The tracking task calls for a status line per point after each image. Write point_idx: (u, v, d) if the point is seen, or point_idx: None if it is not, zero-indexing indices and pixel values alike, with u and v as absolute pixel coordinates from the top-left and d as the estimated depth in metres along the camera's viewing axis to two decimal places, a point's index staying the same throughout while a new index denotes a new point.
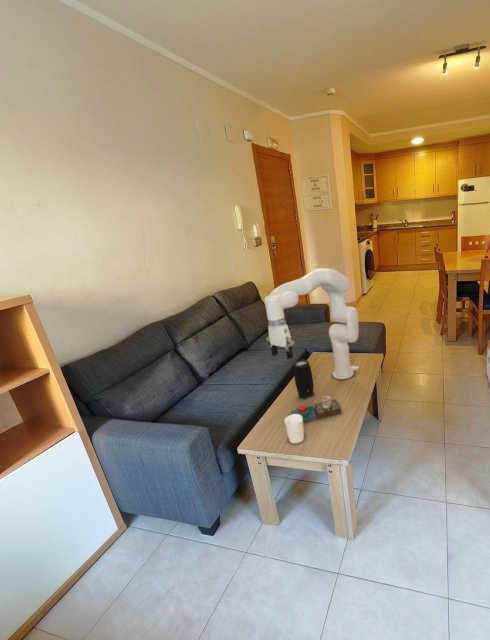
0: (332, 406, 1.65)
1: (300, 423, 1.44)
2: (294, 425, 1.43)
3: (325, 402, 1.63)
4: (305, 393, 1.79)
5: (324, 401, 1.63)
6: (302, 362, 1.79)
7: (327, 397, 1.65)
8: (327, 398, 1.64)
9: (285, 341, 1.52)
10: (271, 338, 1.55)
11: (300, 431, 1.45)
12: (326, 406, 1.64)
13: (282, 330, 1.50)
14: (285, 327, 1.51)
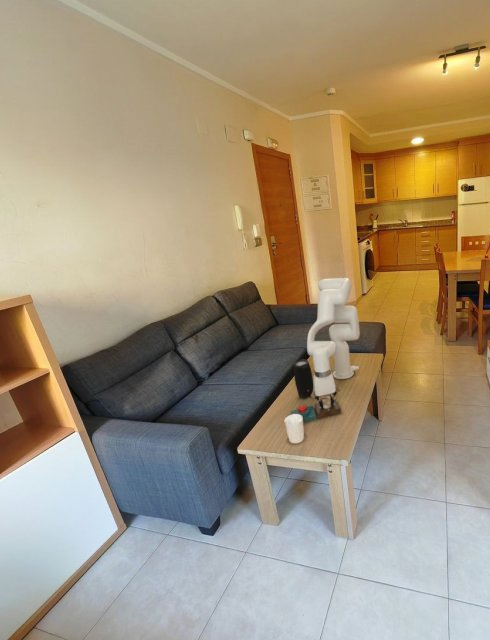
0: (332, 406, 1.65)
1: (300, 423, 1.44)
2: (294, 425, 1.43)
3: (325, 402, 1.63)
4: (305, 393, 1.79)
5: (324, 401, 1.63)
6: (302, 362, 1.79)
7: (327, 397, 1.65)
8: (327, 398, 1.64)
9: None
10: (319, 390, 1.60)
11: (300, 431, 1.45)
12: (326, 406, 1.64)
13: None
14: (332, 374, 1.62)
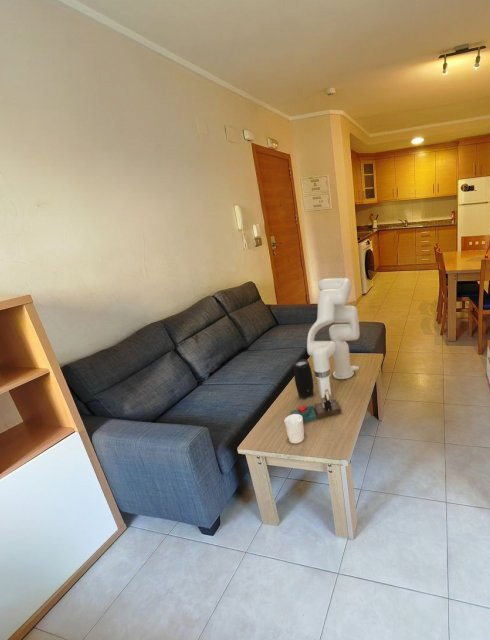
0: (332, 406, 1.65)
1: (300, 423, 1.44)
2: (294, 425, 1.43)
3: (330, 399, 1.65)
4: (305, 393, 1.79)
5: (330, 399, 1.64)
6: (302, 362, 1.79)
7: None
8: None
9: None
10: None
11: (300, 431, 1.45)
12: None
13: None
14: None
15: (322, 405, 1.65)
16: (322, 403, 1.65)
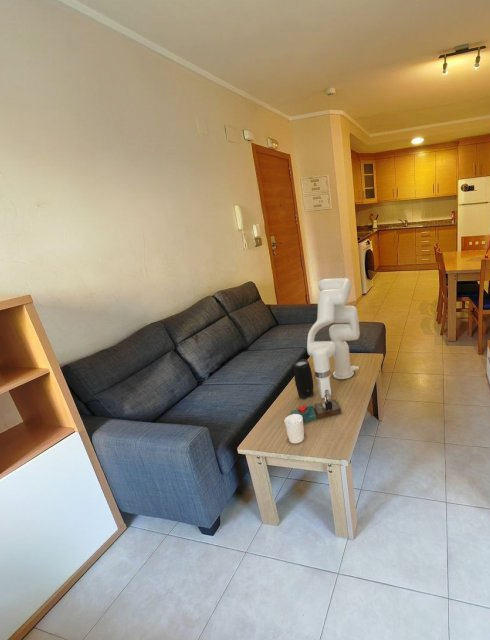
0: (332, 406, 1.65)
1: (300, 423, 1.44)
2: (294, 425, 1.43)
3: None
4: (305, 393, 1.79)
5: None
6: (302, 362, 1.79)
7: None
8: None
9: None
10: None
11: (300, 431, 1.45)
12: None
13: None
14: None
15: (322, 405, 1.65)
16: (322, 403, 1.65)
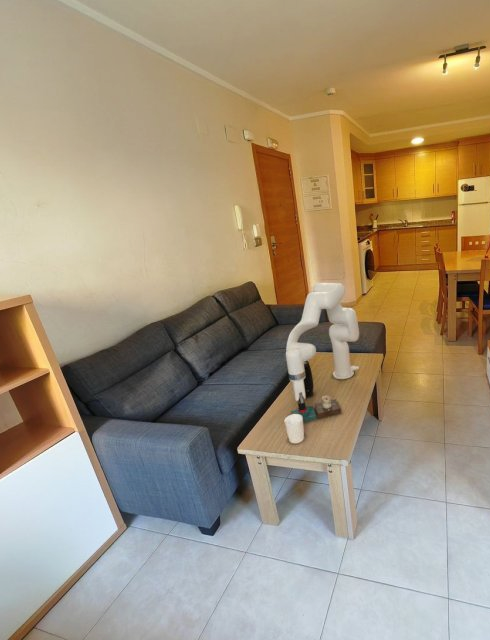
0: (332, 406, 1.65)
1: (300, 423, 1.44)
2: (294, 425, 1.43)
3: (330, 399, 1.65)
4: (305, 393, 1.79)
5: (330, 399, 1.64)
6: None
7: (325, 397, 1.66)
8: (327, 397, 1.66)
9: None
10: None
11: (300, 431, 1.45)
12: None
13: None
14: None
15: (322, 405, 1.65)
16: (322, 403, 1.65)
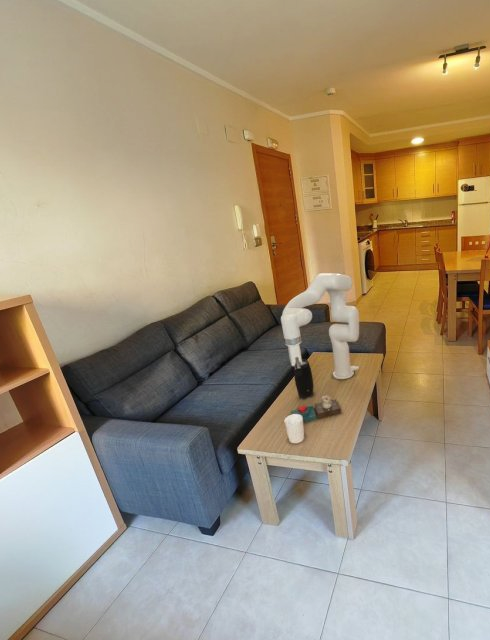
0: (332, 406, 1.65)
1: (300, 423, 1.44)
2: (294, 425, 1.43)
3: (330, 399, 1.65)
4: (305, 393, 1.79)
5: (330, 399, 1.64)
6: (302, 362, 1.79)
7: (325, 397, 1.66)
8: (327, 397, 1.66)
9: None
10: None
11: (300, 431, 1.45)
12: None
13: None
14: None
15: (322, 405, 1.65)
16: (322, 403, 1.65)
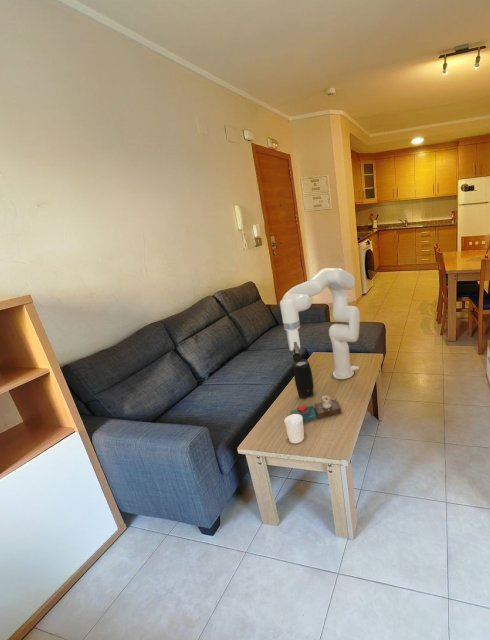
0: (332, 406, 1.65)
1: (300, 423, 1.44)
2: (294, 425, 1.43)
3: (330, 399, 1.65)
4: (305, 393, 1.79)
5: (330, 399, 1.64)
6: (302, 362, 1.79)
7: (325, 397, 1.66)
8: (327, 397, 1.66)
9: None
10: None
11: (300, 431, 1.45)
12: None
13: None
14: None
15: (322, 405, 1.65)
16: (322, 403, 1.65)
